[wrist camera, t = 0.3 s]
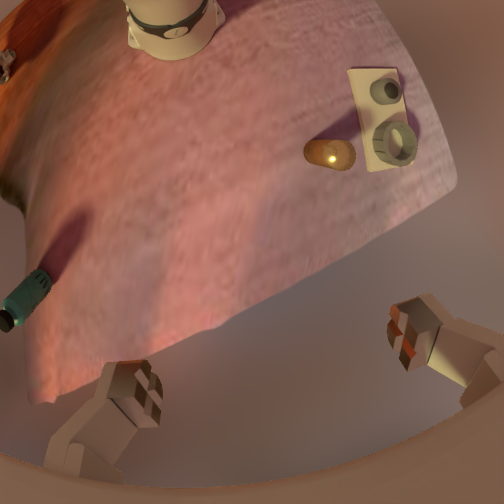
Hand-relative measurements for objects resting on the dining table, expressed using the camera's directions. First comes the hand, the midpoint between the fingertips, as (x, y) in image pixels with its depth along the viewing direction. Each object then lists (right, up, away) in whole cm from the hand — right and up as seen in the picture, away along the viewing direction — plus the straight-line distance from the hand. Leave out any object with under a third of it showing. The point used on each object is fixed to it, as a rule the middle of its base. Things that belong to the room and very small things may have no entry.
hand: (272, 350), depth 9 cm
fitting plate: (+27, +31, +42) cm, 59 cm away
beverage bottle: (-49, -3, +45) cm, 66 cm away
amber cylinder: (+12, +22, +44) cm, 51 cm away
